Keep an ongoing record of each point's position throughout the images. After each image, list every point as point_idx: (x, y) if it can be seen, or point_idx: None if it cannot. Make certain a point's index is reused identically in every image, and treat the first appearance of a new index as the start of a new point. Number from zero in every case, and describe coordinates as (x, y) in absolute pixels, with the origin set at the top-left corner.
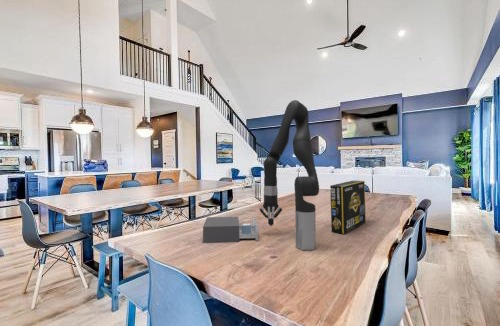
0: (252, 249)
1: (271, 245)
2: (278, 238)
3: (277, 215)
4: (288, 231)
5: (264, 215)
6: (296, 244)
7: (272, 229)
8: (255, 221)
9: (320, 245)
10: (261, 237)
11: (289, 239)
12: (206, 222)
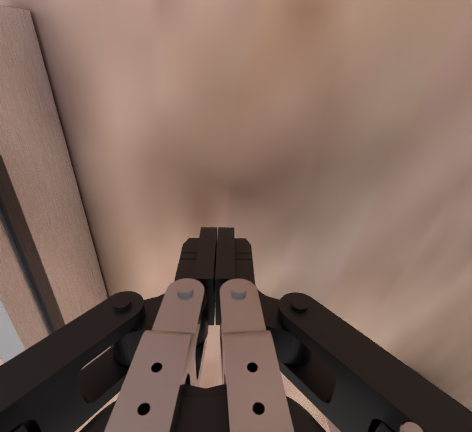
0: (101, 410)
1: (200, 378)
2: (264, 288)
3: (322, 373)
4: (417, 120)
5: (97, 378)
6: (328, 422)
7: (264, 15)
8: (6, 333)
9: (460, 387)
10: (137, 263)
11: (335, 309)
12: None
